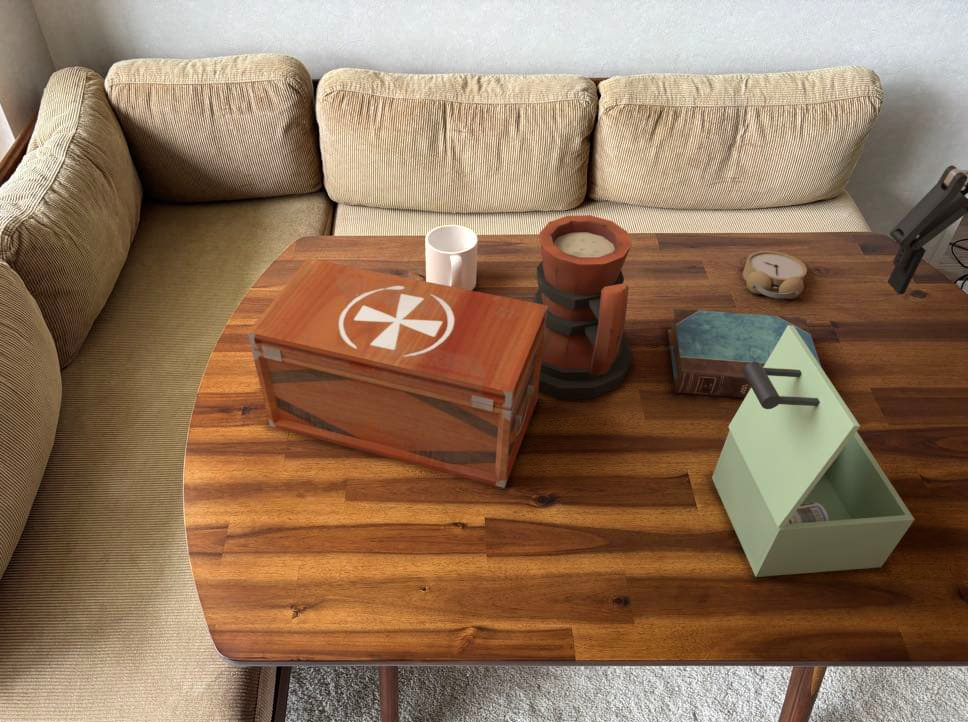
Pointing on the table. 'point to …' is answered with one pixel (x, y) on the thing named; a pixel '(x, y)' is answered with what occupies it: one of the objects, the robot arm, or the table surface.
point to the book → (724, 348)
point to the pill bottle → (809, 514)
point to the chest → (816, 545)
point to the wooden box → (401, 368)
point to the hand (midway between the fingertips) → (945, 283)
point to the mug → (451, 256)
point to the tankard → (583, 307)
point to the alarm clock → (774, 274)
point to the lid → (790, 425)
